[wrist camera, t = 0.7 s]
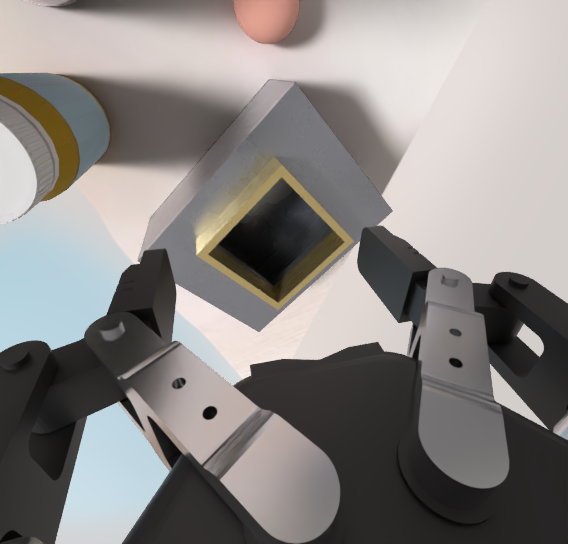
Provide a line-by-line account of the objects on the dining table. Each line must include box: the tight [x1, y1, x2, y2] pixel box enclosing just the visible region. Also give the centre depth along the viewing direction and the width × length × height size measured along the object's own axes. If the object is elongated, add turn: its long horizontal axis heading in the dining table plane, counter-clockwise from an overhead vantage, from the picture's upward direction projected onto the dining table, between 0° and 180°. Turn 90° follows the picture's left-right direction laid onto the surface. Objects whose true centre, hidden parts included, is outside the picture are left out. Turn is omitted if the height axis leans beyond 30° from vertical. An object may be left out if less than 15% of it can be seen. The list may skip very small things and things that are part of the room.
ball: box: [233, 0, 299, 44], centre depth 23 cm, size 5×5×5 cm
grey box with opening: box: [138, 80, 392, 332], centre depth 29 cm, size 18×14×12 cm
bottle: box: [0, 73, 111, 224], centre depth 20 cm, size 7×7×15 cm
